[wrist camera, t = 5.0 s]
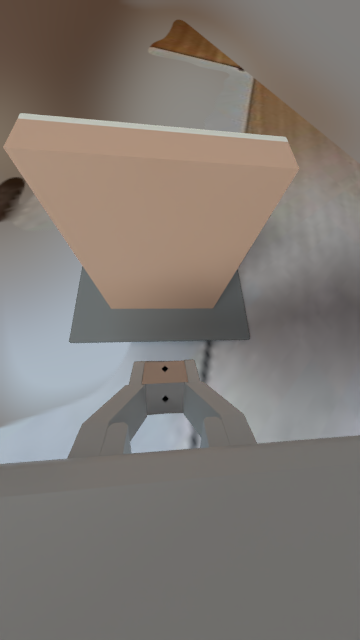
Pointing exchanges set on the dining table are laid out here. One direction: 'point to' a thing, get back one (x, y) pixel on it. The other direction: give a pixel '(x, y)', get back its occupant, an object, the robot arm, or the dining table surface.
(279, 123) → the dining table surface
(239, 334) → the rubber mat
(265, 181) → the terracotta tile
